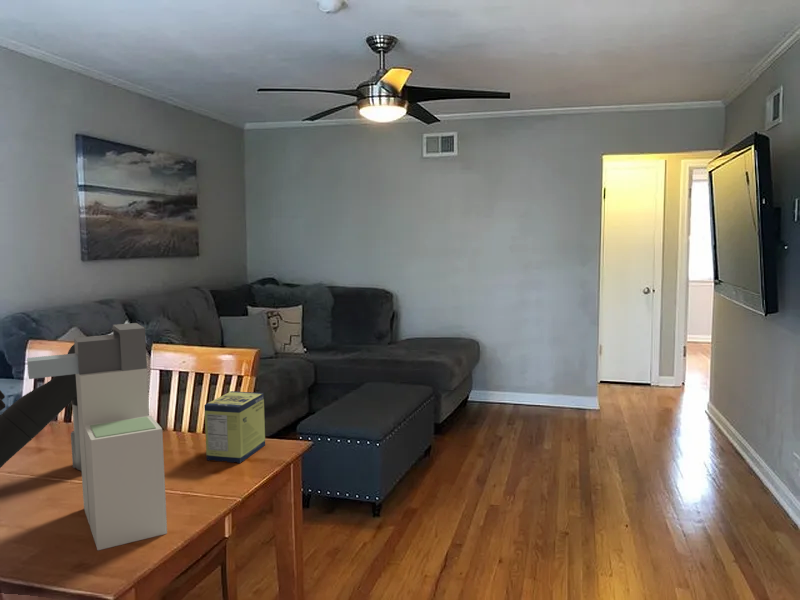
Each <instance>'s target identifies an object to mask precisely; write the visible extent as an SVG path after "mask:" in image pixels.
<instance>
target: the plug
mask: <svg viewBox="0 0 800 600" xmlns="http://www.w3.org/2000/svg"><path fill="white" fill-rule="evenodd" d="M73 342H74V343H73V345H75V353H74V354H68V353H65V354H56V355H53V354H52V355H46V356H43V355H42V356H34V357H27V358H26V361H27V362H26V364H27V376H28V379H29V380H34V379H35V380H36V379H44V378H52V377H53V378H54V377H56V376H62V375H71V374H79V375H81V374H90V373H99V372H108V371H117V370H122V369H121V350H120V334H114V335H113V334H103V335H92V336H90V335H89V336H80V337H73Z"/></svg>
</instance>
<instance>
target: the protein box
mask: <svg viewBox="0 0 800 600" xmlns="http://www.w3.org/2000/svg"><path fill="white" fill-rule="evenodd" d="M264 396H265V394H264V392H253V391H250V392H249V391H248V392H247V391H236V390H235V391H233V390H232V391H229V392H227V393H225V394H223V395H221V396H218V397H217V398H215V399H213V400H211V401H209V402H207V403H205V404H204V406H203V407H204V424H205V425H204V427H205V428H204V429H205V430H204V431H205V449H206V450H205V451H206V454H205V455H206V460H207V461H210V460H215V461H214V462H222V461H227V462H226V463H234V462H237V463H236V464H242V463H243V462H245V459H246V460H247V459H248V458H251V456H252V455H253V454H255V453H257V452H258V451H259V450H261V449H263V447H265V446H266V428H265V427H266V426H265V423H266V421H265V420H266V419H265V399H264V398H265V397H264ZM242 461H243V462H242ZM241 462H242V463H241Z"/></svg>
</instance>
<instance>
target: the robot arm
mask: <svg viewBox="0 0 800 600" xmlns="http://www.w3.org/2000/svg"><path fill="white" fill-rule="evenodd" d="M74 353H75V345H74V344H72V345H71V346H70V348H69V349H68V352H67V354H74ZM5 397H6V396H5V394H4V392H2V390H1V389H0V412H1V411H2V410H4V409H5V408H6V403H5V402H4V401H3V400H4V399H5ZM71 403H72V404H71ZM70 404H71V405H72V406H71V407H72V418H73V431H71V432H70V442H71V445H70V446H71V457H72V458H71V460H72V468H74V469H77V470H78V471H81V472H82V469H81V453H80V436H79V420H78V404H77V388H76V374H71V375H62V376H53V378H52V379H50V380H49V381H47V382H46V383H43V384H42V385H39V386H38V387H36V388H34V389H32V390H31V391H29V392H27V393H26V394H24V395H23V396H21V397H20V398H18V399H17V400H15V402H13V403H12V404H11V405H10V406H9V407H7V408H6V409H5V410H4V411H3V412H2V413H1V414H0V469H1V468H2V467H3V466H4V465H5V464H6V463H7V462H8V461H9V460H11V459H12V458H13V457H14V456H15V455H16V454H17V453H18V452H19V451H20V450H21V449H22V448H24V447H25V446H26V445H27V444H28V443H29V442H31V441H32V439H34V438H35V437H36V436H37V435H38V434H39V433H40V432H42V430H44V429H45V427H47V426H48V424H50V423H51V422H52V421H53V420H54V419H55V418H56V417H57V416H58V415H59V414H60V413H62V411H63V410H64V409H66V407H67V406H69V405H70Z"/></svg>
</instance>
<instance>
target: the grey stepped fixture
mask: <svg viewBox="0 0 800 600" xmlns="http://www.w3.org/2000/svg"><path fill="white" fill-rule="evenodd" d="M114 334H120V350H121V369H122V370H117V371H108V372H99V373H90V374H81V375H79V374H76V388H77V404H78V420H79V436H80V453H81V469H82V471H81V480H82V481H81V483H82V498H83V499H82V501H83V510H84V514H85V516H86V519H87V522H88V525H89V529H90V531H91V534H92V537H93V541H94V543H95V546H96V551H102V550H106V549H109V548H113V547H114V548H115V547H118V546H121V545H125V544H129V543H130V544H131V543H134V542H138V541H142V540H146V539H150V538H155V537H159V536H162V535H167V534H168V523H167V522H168V521H167V502H166V499H167V498H166V481H165V463H164V462H165V460H164V458H165V457H164V442H163V441H164V438H163V437H164V436H163V428H162V427H161V426H160V424H159V423H158V422H157V421H156V420H155V419H154V417H153V416H152V415H150V405H149V403H150V402H149V386H148V385H149V384H148V366H147V365H148V363H147V347H146V346H147V345H146V344H147V342H146V328H145V327H144V326H143V325H140V324H139V323H137V322H132V323H123V324H122V323H118V324H112V335H114Z"/></svg>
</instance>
